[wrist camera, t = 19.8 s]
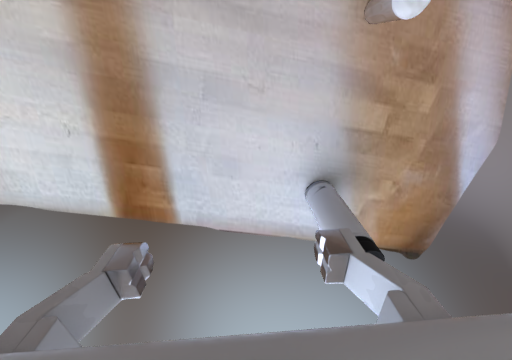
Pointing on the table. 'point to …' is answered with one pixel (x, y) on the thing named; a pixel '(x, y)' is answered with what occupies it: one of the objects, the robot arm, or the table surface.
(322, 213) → the travel mug
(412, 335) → the robot arm
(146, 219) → the table surface
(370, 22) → the milkshake
